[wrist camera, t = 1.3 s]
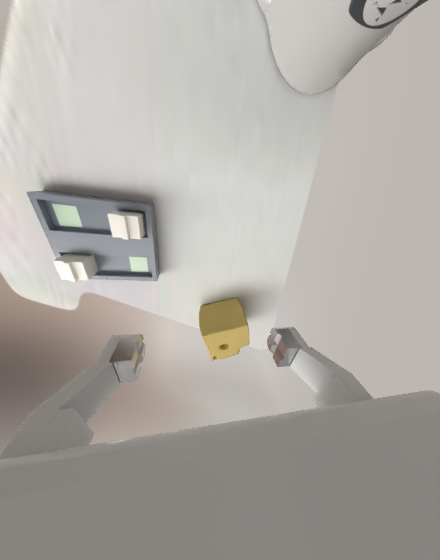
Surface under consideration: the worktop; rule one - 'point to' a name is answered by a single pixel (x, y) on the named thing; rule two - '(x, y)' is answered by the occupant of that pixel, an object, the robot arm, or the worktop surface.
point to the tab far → (76, 266)
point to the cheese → (223, 328)
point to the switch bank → (98, 234)
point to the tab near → (127, 224)
